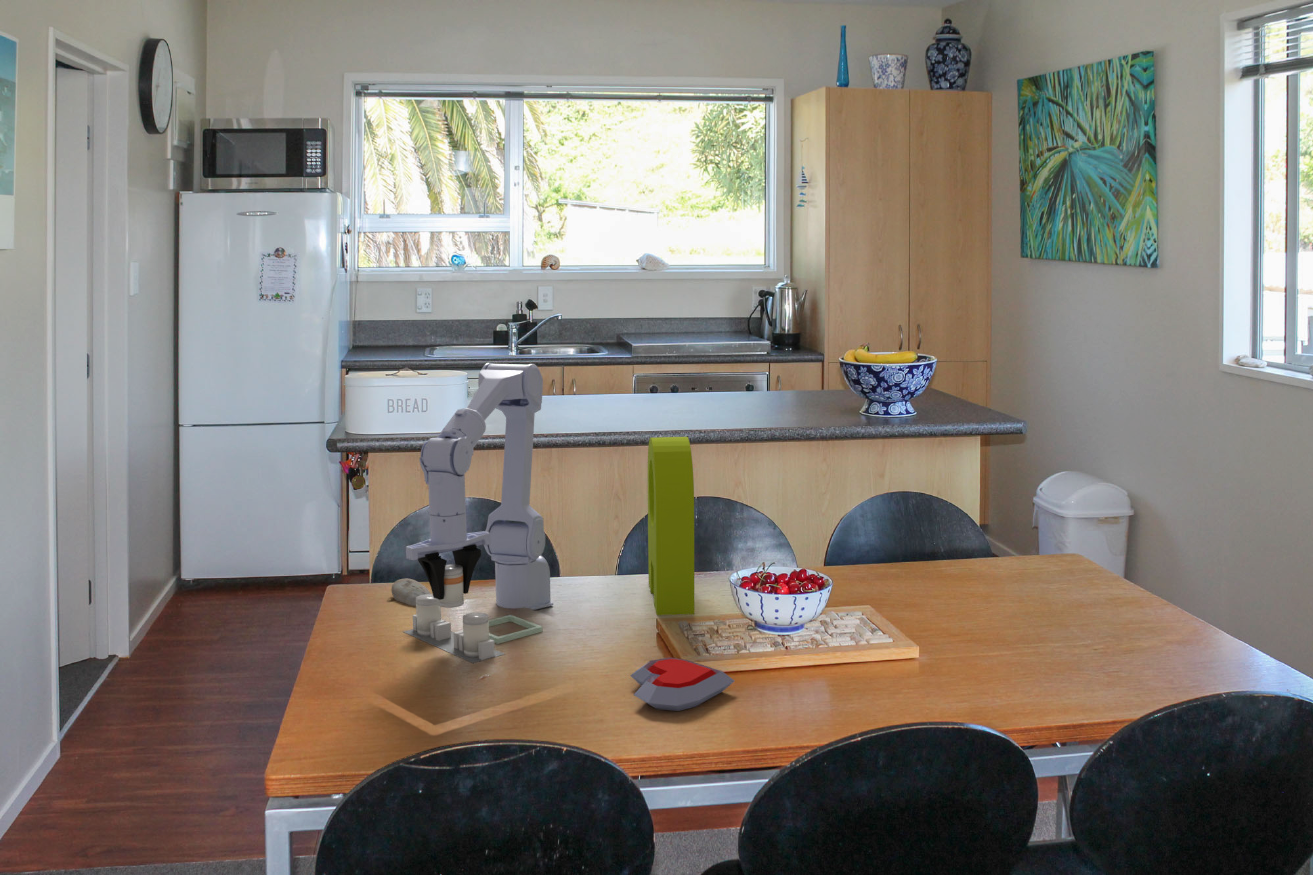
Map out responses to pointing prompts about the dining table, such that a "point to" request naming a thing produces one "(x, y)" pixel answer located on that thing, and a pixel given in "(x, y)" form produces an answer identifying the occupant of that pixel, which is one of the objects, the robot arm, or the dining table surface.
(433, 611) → the fuse
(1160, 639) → the dining table surface
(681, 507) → the decorative object
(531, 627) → the tray
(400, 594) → the decorative stone
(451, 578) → the cylinder
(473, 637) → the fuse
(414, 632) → the fuse holder
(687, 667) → the sculpture
